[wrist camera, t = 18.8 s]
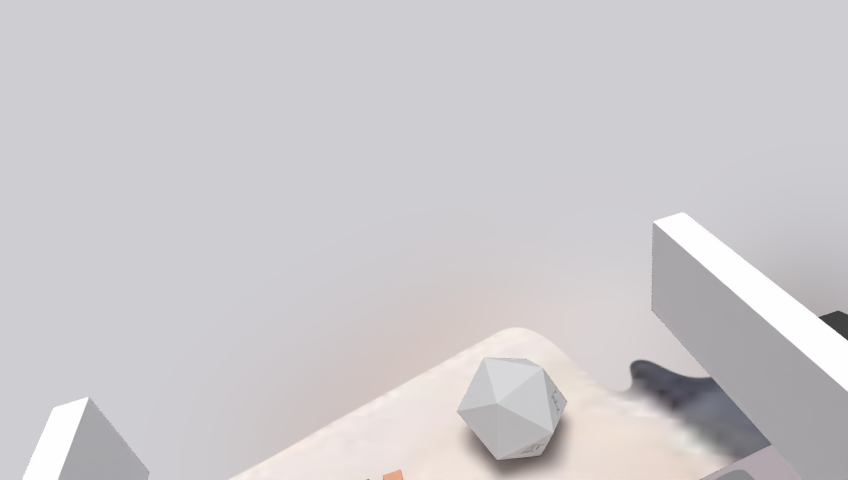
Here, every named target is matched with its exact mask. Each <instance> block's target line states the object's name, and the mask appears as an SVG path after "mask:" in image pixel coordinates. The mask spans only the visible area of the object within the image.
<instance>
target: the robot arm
mask: <svg viewBox="0 0 848 480" xmlns="http://www.w3.org/2000/svg"><path fill="white" fill-rule="evenodd" d="M652 248H653V249H652V311H653V312H654V313H655V314H656V316H657V317H658V318H659V319H660V320H661V321H662V322H663V323H664V324H665V326H666V327H667V328H668V329H669V330H670V331H671V332H672V333H673V334H674V336H675V337H676V338H677V339H678V340H679V341H680V342H681V343H682V344H683V346H684V347H685V348H686V349H687V350H688V351H689V352H690V353H691V355H692V356H693V357H694V358H695V359H696V360H697V361H698V362H699V363H700V364H701V366H702V367H703V368H704V369H705V370H706V371H707V372H708V373H709V375H710V376H711V377H712V378H713V379H714V380H715V381H716V382H717V383H718V385H719V386H720V387H721V388H722V389H723V390H724V391H725V392H726V394H727V395H728V396H729V397H730V398H731V399H732V400H733V401H734V402H735V404H736V405H737V406H738V407H739V408H740V409H741V410H742V411H743V412H744V414H745V415H746V416H747V417H748V418H749V419H750V420H751V421H752V422H753V424H754V425H755V426H756V427H757V428H758V429H759V430H760V431H761V432H762V434H763V435H764V436H765V437H766V438H767V439H768V440H769V441H770V443H771V444H772V445H773V446H774V447H775V448H776V449H777V450H778V451H779V453H780V454H781V455H782V456H783V457H784V458H785V459H786V460H787V461H788V463H789V464H790V465H791V466H792V467H793V468H794V469H795V470H796V471H797V473H798V474H799V475H800V476H801V477H802V478H803V479H804V480H848V315H847V314H845V313H843V312H840V311H836V312H833V313H830V314H827V315H824V316H821V317H817V316H816V315H814V314H813V313H812V312H810V311H809V310H808V309H807V308H805V307H804V306H803V305H802V304H800V303H799V302H798V301H796V300H795V299H794V298H793V297H791V296H790V295H789V294H787V293H786V292H785V291H784V290H782V289H781V288H780V287H778V286H777V285H776V284H775V283H773V282H772V281H771V280H770V279H768V278H767V277H766V276H764V275H763V274H762V273H761V272H759V271H758V270H757V269H756V268H754V267H753V266H752V265H750V264H749V263H748V262H747V261H745V260H744V259H743V258H742V257H740V256H739V255H738V254H736V253H735V252H734V251H732V250H731V249H730V248H729V247H727V246H726V245H725V244H724V243H722V242H721V241H720V240H719V239H717V238H716V237H715V236H713V235H712V234H711V233H710V232H708V231H707V230H705V229H704V228H703V227H702V226H701V225H699V224H698V223H697V222H696V221H694V220H693V219H692V218H690V217H689V216H688V215H687V214H685V213H684V212H682V213H679V214H676V215H672V216H669V217H666V218H663V219H659V220H656V221H653V247H652ZM148 475H149V471H148V469H147V468H146V467H145V466H144V464H143V463H142V462H141V461H140V459H139V458H138V457H137V456H136V454H135V453H134V452H133V451H132V450H131V448H130V447H129V446H128V444H127V443H126V442H125V441H124V440H123V438H122V437H121V436H120V435H119V433H118V432H117V431H116V430H115V428H114V427H113V426H112V425H111V423H110V422H109V421H108V420H107V418H106V417H105V416H104V415H103V413H102V412H101V411H100V410H99V408H98V407H97V406H96V405H95V404H94V402H93V401H92V400H91V399H90V397H87V398H84V399H80V400H77V401H74V402H71V403H67V404H64V405H61V406H58V407H55V408H53V410H52V413H51V415H50V418H49V420H48V422H47V424H46V426H45V429H44V431H43V433H42V435H41V438H40V440H39V442H38V445H37V447H36V449H35V452H34V454H33V456H32V458H31V461H30V463H29V465H28V467H27V470H26V472H25V474H24V476H23V479H22V480H148Z"/></svg>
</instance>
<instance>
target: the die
mask: <svg viewBox="0 0 848 480" xmlns="http://www.w3.org/2000/svg"><path fill="white" fill-rule="evenodd" d="M566 403H567V400H566V399H565V398H564V396H563V395H562V394H561V392H560V391H559V389H558V388H557V387H556V385H555V384H554V383H553V381H552V380H551V378H550V377H549V376H548V374H547V373H546V372H545V370H544V369H543V368H542V367H540V366H538V365H536V364H535V363H533V362H531V361H529V360H527V359H512V358H483V360H482V362H481V364H480V366H479V368H478V370H477V372H476V374H475V376H474V378H473V380H472V382H471V384H470V386H469V388H468V390H467V392H466V394H465V396H464V398H463V400H462V402H461V404H460V406H459V408H458V410H457V412H458V414H459V415H460V416H461V417H462V418H463V420H464V421H465V422H466V423H467V424H468V426H469V427H470V428H471V429H472V430H473V432H474V433H475V434H476V435H477V436H478V438H479V439H480V440H481V441H482V442H483V444H484V445H485V446H486V447H487V448H488V450H489V451H490V452H491V453H492V454H493V456H494V457H495V458H496V459H497V460H502V459H512V458H522V457H532V456H541V455H542V453H543V451H544V449H545V448H546V446H547V444H548V442H549V440H550V438H551V437H552V435H553V433H554V431H555V428H556V426H557V424H558V422H559V419H560V417H561V415H562V412H563V410H564V408H565V406H566Z"/></svg>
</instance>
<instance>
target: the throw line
mask: <svg viewBox="0 0 848 480" xmlns="http://www.w3.org/2000/svg"><path fill="white" fill-rule="evenodd" d="M383 480H403V478H402V474H401V470H398V471H395V472H392V473H389V474H386V475H383Z"/></svg>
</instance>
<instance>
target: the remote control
mask: <svg viewBox="0 0 848 480" xmlns="http://www.w3.org/2000/svg"><path fill="white" fill-rule="evenodd" d="M700 480H804V479H803V478H802V477H801V476H800V475H799V474H798V473H797V471H796V470H795V469H794V468H793V467H792V466H791V465H790V464H789V463H788V461H787V460H786V459H785V458H784V457H783V456H782V455H781V454H780V453H779V451H778V450H777V449H776V448H775V447H774V446H773V445H770V446H768V447H766V448H764V449H762V450H759V451H757V452H755V453H753V454H751V455H749V456H747V457H745V458H743V459H741V460H739V461H737V462H735V463H733V464H731V465H729V466H727V467H725V468H723V469H720V470H718V471H716V472H714V473H712V474H710V475H708V476H706V477H704V478H702V479H700Z"/></svg>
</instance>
